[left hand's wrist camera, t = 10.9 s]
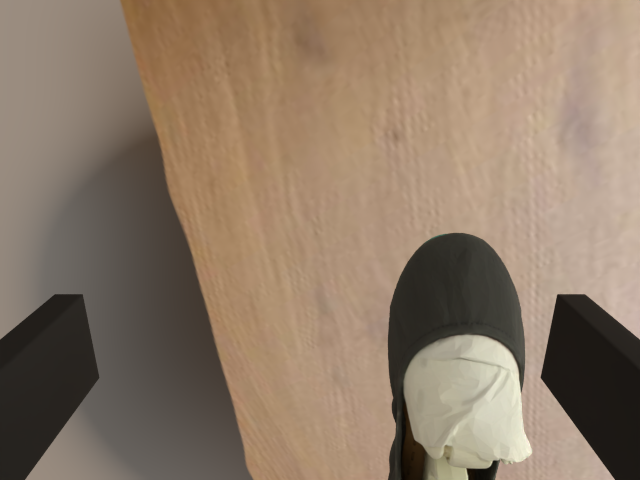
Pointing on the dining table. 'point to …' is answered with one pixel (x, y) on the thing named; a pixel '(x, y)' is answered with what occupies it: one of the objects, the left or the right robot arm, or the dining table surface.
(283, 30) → the dining table surface
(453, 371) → the ballet flat
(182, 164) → the dining table surface
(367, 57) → the dining table surface
